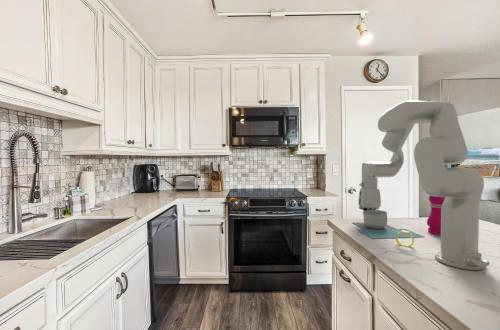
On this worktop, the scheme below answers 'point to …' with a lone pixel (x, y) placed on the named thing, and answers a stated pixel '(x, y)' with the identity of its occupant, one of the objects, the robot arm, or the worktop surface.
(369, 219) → the teacup
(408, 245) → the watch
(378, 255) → the worktop surface
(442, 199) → the pepper mill
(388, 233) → the t mat
